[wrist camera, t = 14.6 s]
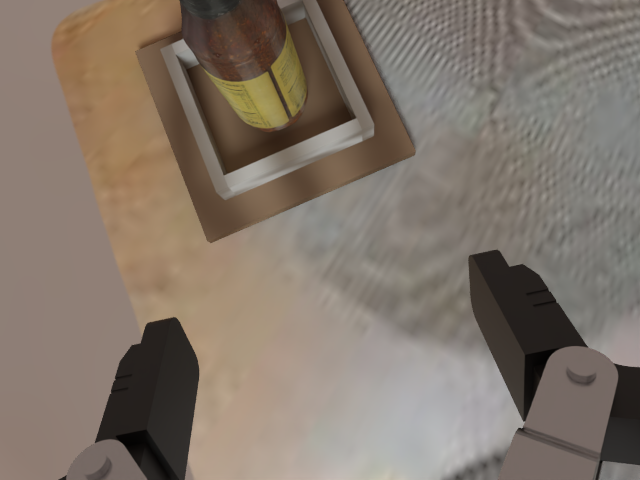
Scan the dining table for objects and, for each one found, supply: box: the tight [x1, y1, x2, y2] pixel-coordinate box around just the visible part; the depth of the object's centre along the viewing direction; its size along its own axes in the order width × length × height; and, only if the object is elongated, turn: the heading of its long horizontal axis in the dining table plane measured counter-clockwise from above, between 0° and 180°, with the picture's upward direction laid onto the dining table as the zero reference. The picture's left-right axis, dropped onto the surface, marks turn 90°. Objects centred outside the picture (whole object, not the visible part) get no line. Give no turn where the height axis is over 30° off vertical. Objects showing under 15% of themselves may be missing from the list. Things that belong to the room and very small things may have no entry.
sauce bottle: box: [180, 0, 308, 132], centre depth 34 cm, size 7×6×20 cm
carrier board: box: [135, 0, 416, 243], centre depth 43 cm, size 18×18×4 cm
